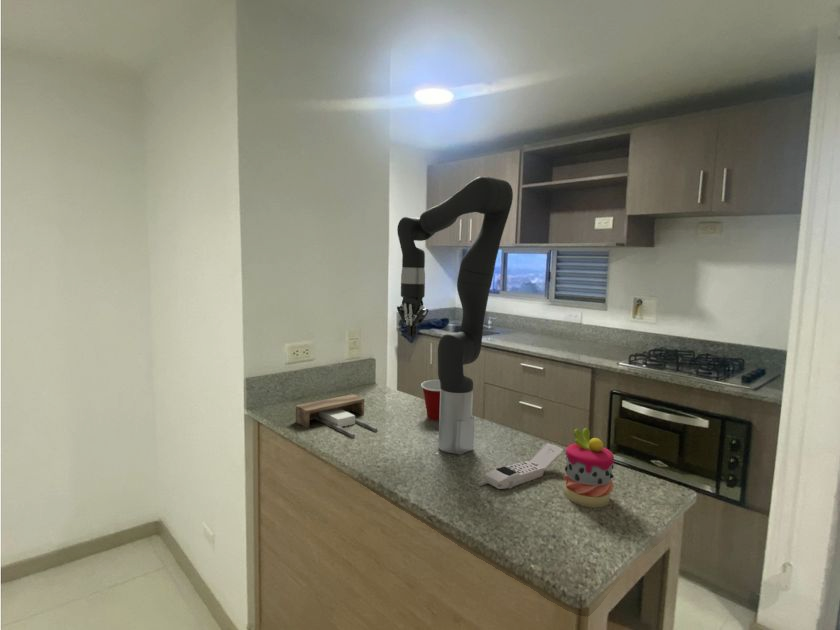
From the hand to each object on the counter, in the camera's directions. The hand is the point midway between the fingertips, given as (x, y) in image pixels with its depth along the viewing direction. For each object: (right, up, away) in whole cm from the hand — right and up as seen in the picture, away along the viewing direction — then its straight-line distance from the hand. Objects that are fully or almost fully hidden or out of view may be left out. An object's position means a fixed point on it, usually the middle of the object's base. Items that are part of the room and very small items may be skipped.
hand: (411, 336), depth 149 cm
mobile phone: (+28, -34, -32) cm, 54 cm away
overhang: (-22, -28, +2) cm, 36 cm away
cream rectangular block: (-25, -28, +6) cm, 38 cm away
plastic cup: (+8, -28, +11) cm, 32 cm away
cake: (+41, -35, -41) cm, 68 cm away
